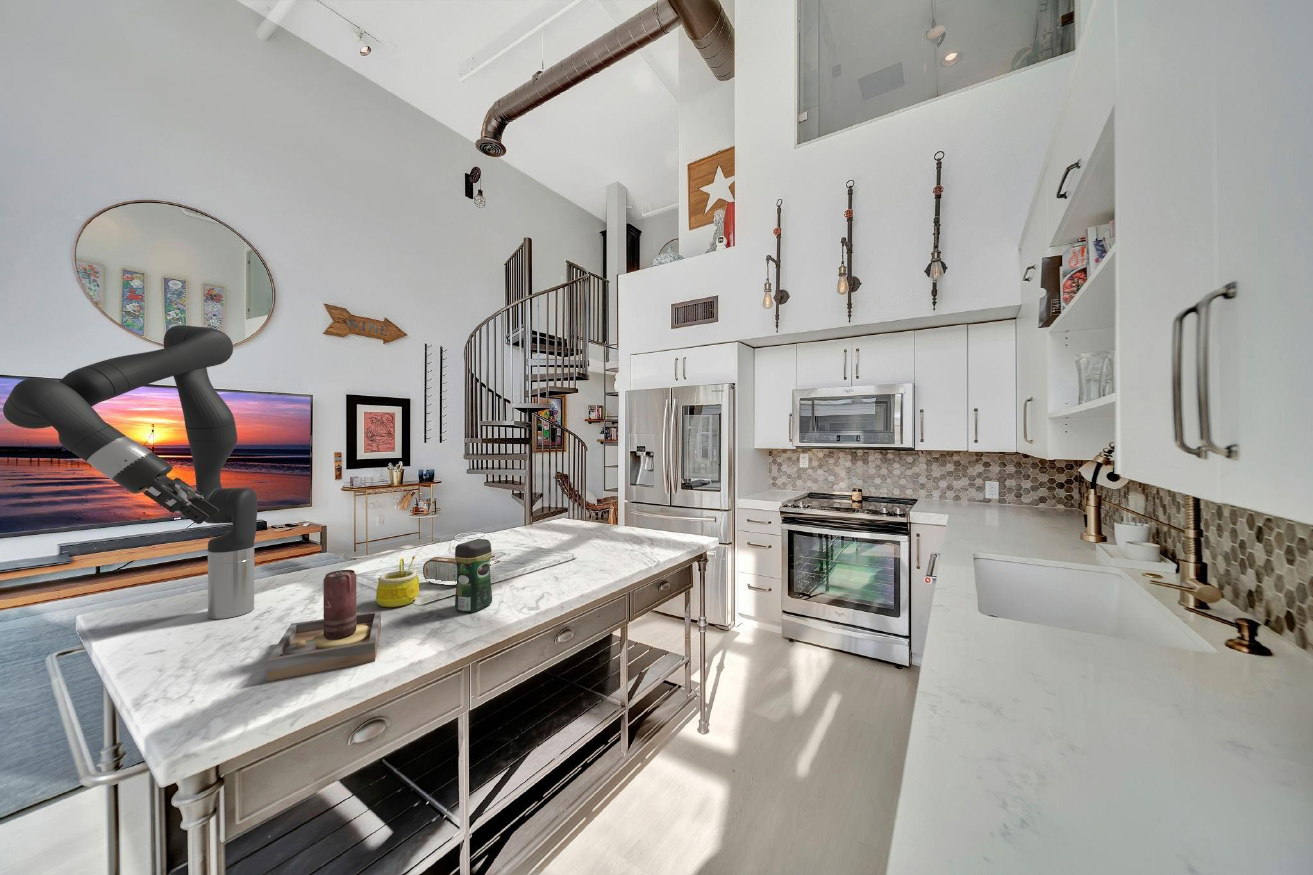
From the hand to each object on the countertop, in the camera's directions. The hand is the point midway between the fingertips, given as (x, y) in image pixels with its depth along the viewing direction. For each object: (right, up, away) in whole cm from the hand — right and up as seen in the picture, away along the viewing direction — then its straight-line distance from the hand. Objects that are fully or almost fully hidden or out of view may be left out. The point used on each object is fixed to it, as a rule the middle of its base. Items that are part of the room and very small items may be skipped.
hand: (210, 517), depth 99 cm
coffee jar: (+43, -31, +32) cm, 62 cm away
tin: (+26, -30, +51) cm, 65 cm away
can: (+23, -28, +7) cm, 37 cm away
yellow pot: (+21, -30, +36) cm, 51 cm away
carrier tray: (+22, -30, +5) cm, 38 cm away
